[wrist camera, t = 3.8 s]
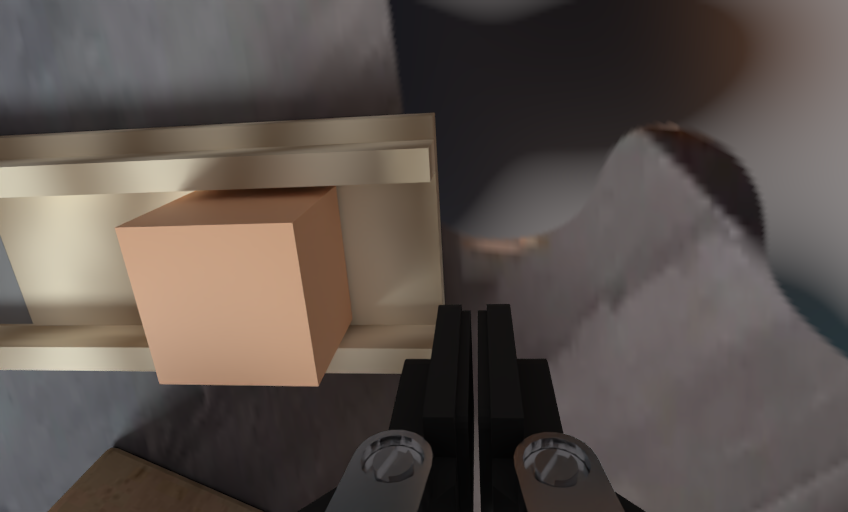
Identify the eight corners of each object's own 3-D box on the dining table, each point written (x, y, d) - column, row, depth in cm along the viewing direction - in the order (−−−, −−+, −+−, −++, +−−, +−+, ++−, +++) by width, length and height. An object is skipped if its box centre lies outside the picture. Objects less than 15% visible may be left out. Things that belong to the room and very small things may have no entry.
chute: (434, 112, 20) (426, 121, 17) (447, 354, 24) (442, 392, 21) (-131, 142, 23) (-213, 154, 21) (-39, 351, 27) (-98, 384, 25)
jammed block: (335, 185, 20) (292, 222, 16) (352, 319, 23) (318, 386, 18) (195, 190, 21) (114, 227, 17) (224, 319, 23) (159, 384, 19)
